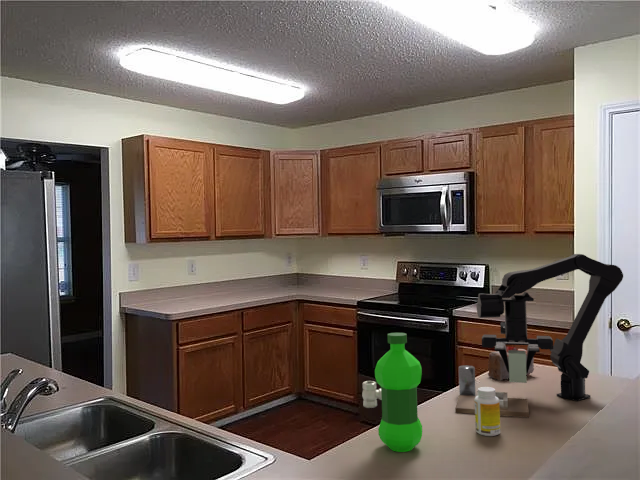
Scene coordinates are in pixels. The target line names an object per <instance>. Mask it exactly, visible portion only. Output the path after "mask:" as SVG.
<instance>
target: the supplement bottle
mask: <svg viewBox="0 0 640 480" xmlns="http://www.w3.org/2000/svg"><path fill="white" fill-rule="evenodd" d="M477 391H478V396H476V397H475V414H474V420H475V422H474V423H475V431H476V433H478V434H479V435H481V436H485V437H493V436H497V435H499V434H500V433H501V416H500V405H499V398H498V397H496V393H495V392H496V389H495V388H494V387H491V386H481V387H478V388H477Z"/></svg>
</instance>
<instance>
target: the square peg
mask: <svg viewBox="0 0 640 480" xmlns="http://www.w3.org/2000/svg"><path fill="white" fill-rule="evenodd" d="M508 352H509V379H508V380H509V383H522V384H527V383H528V382H527V381H528V380H527V379H528V378H527V376H528V375H527V376H526V353H525V351H519V350H508Z"/></svg>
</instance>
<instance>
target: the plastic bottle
mask: <svg viewBox="0 0 640 480" xmlns="http://www.w3.org/2000/svg"><path fill="white" fill-rule="evenodd" d="M407 336H408V335H407V333H405V332H390V333H387V344H390V345H389V346H390V349H389V350H388V351H387V352H386V353H385V354H384V355H383V356H382V357H380V358H379V360H377V363H376V365H375V369H374V377H375V382H376V384H378V385H379V387H380V388H381V396H382V400H381V412H382V413H381V420H380V423H379V426H378V431H377V432H378V436H379V438H380V440H381V442H382V443H383V444H385V446H387V447H388V448H389V449H390V450H391V451H393V452H397V453H405V452H411V451H412V450H413V449H414V448H415V447H416V446H417V445H419V443H420V442H421V440H422V437H423V424H422V423H421V420H420V418H419V417H418V416H419V415H418V391H417V390H418V389H417V388H418V386H419V384H421V381H422V375H423V373H422V372H423V369H422V365H421V363H420V361H419V360H418V359H417V358H416V357H415V356H414V355H413V354H412V353H411V352H409V351H408V350H406V347H405V345H406V344H407V343H408V339H407V338H408V337H407Z"/></svg>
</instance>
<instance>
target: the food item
mask: <svg viewBox="0 0 640 480" xmlns="http://www.w3.org/2000/svg"><path fill="white" fill-rule="evenodd" d="M508 350H519V351H525V353H526V360H527V350H526V349H524V348H517V347H515V346H508V345H506V351H507V357H508V363H509V352H508ZM534 359H535V358H534V357H533V359H532V361H531V364H530V367H529V370H528V373H526V375H527V376H530V375H531V374H533V372H534V370H535V368H534V367H535V365H534V361H535V360H534ZM487 366H488V369H487V370H488V373H487V376H488V377H490V378H491V379H493V380H494V379H495V380H497V381H503V379H505V380H509V379H508V378H509V372H508V371H507V369H506V366H505V363H504V361H503V358H502V357H501V355H500V353H499V351H491V352H490V353H489V354H488V365H487Z"/></svg>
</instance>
